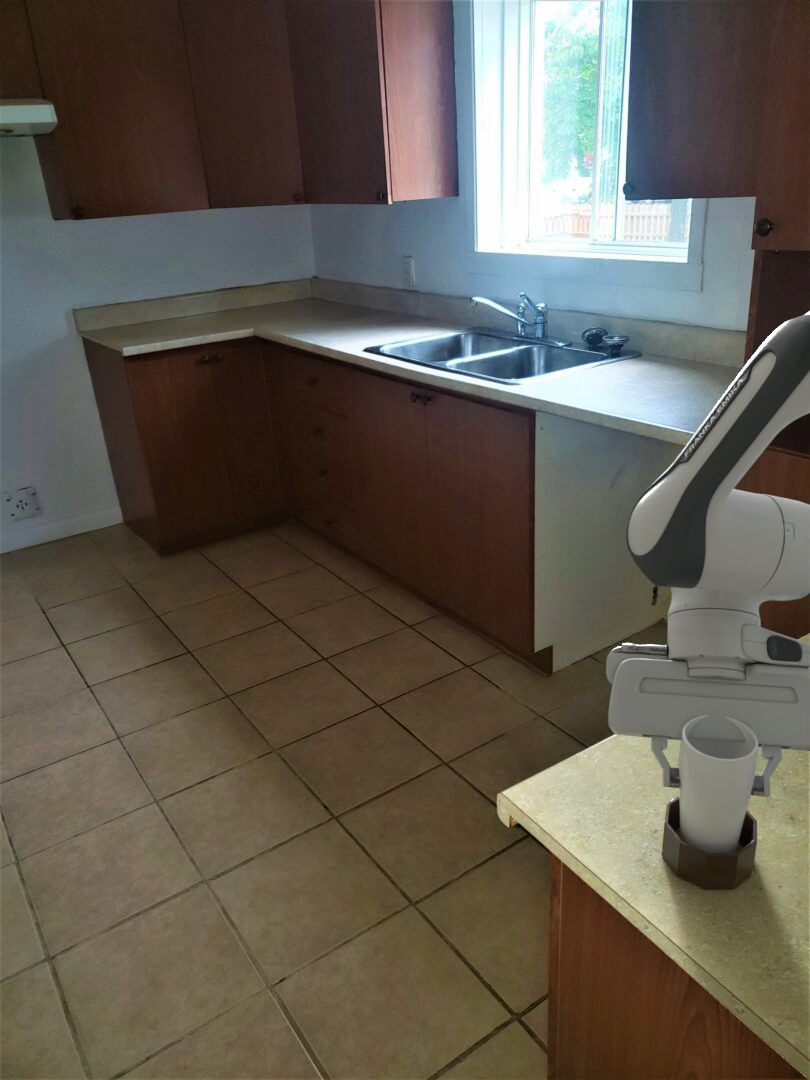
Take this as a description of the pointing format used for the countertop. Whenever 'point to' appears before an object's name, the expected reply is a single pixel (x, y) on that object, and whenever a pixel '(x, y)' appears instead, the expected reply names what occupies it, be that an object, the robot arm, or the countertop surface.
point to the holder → (708, 855)
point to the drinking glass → (715, 788)
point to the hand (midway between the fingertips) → (715, 791)
